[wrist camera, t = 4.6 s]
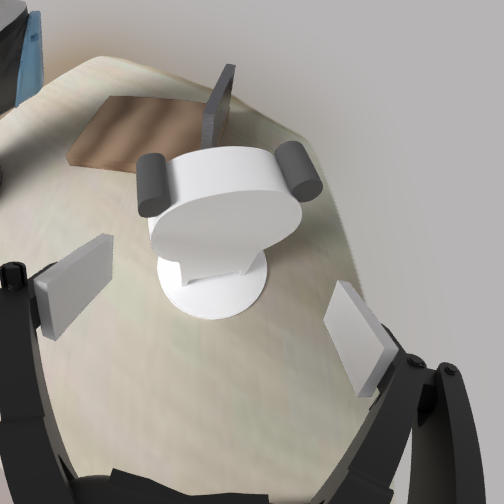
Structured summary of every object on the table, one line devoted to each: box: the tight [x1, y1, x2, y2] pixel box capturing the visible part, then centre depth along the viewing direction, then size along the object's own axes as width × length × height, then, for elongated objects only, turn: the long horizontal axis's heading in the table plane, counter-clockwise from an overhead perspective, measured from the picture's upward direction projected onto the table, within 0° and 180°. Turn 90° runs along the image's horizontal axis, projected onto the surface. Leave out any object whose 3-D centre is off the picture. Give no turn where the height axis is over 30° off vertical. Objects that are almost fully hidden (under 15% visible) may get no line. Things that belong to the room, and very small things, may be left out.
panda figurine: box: [136, 141, 323, 320], centre depth 23 cm, size 12×11×15 cm
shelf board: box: [66, 96, 230, 173], centre depth 35 cm, size 20×14×2 cm
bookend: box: [201, 64, 236, 150], centre depth 31 cm, size 1×12×8 cm, turn 173°
